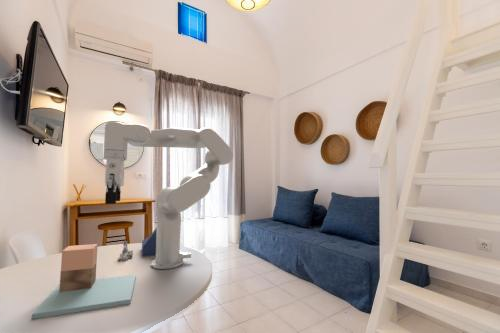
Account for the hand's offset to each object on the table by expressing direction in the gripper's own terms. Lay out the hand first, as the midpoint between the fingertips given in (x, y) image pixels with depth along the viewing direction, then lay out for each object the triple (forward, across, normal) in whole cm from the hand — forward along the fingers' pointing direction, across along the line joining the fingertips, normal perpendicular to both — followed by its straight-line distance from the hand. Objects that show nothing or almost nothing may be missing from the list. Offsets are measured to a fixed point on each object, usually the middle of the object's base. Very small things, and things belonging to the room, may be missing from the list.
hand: (113, 202), depth 86 cm
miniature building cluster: (+27, +18, -5) cm, 33 cm away
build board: (+26, -14, +2) cm, 30 cm away
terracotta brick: (+19, -9, +7) cm, 22 cm away
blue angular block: (+27, +26, -15) cm, 40 cm away
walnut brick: (+25, -9, +7) cm, 28 cm away
